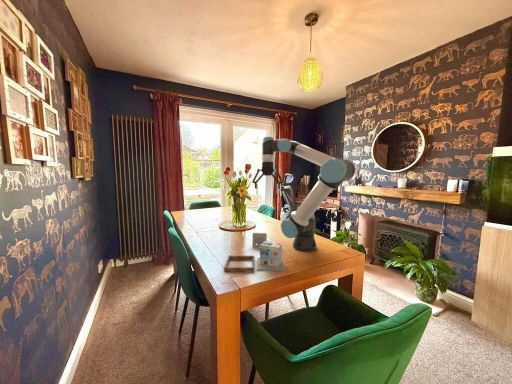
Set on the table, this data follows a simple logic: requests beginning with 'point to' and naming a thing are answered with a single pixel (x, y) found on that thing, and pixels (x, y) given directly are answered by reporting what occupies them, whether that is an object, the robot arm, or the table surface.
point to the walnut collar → (239, 269)
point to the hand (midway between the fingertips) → (267, 193)
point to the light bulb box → (271, 253)
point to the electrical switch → (258, 239)
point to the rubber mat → (269, 267)
